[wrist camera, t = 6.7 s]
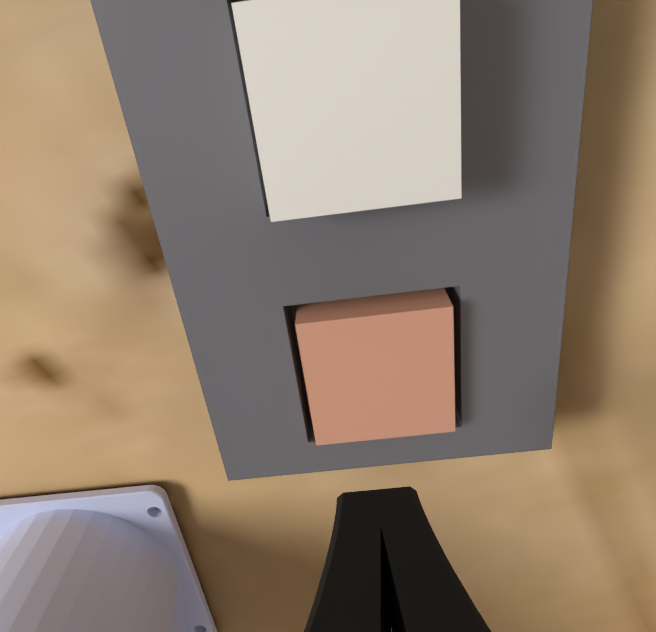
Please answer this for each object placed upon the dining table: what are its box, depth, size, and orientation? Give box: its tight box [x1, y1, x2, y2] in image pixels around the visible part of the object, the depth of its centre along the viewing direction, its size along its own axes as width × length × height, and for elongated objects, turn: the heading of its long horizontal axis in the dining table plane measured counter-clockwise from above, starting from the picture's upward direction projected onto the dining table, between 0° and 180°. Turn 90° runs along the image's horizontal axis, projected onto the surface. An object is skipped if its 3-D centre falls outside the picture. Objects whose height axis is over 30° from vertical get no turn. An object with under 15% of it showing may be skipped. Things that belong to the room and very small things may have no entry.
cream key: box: [231, 0, 462, 222], centre depth 11 cm, size 4×4×2 cm
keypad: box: [91, 0, 593, 481], centre depth 12 cm, size 21×10×2 cm, turn 7°
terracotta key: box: [295, 288, 455, 446], centre depth 15 cm, size 4×4×2 cm
